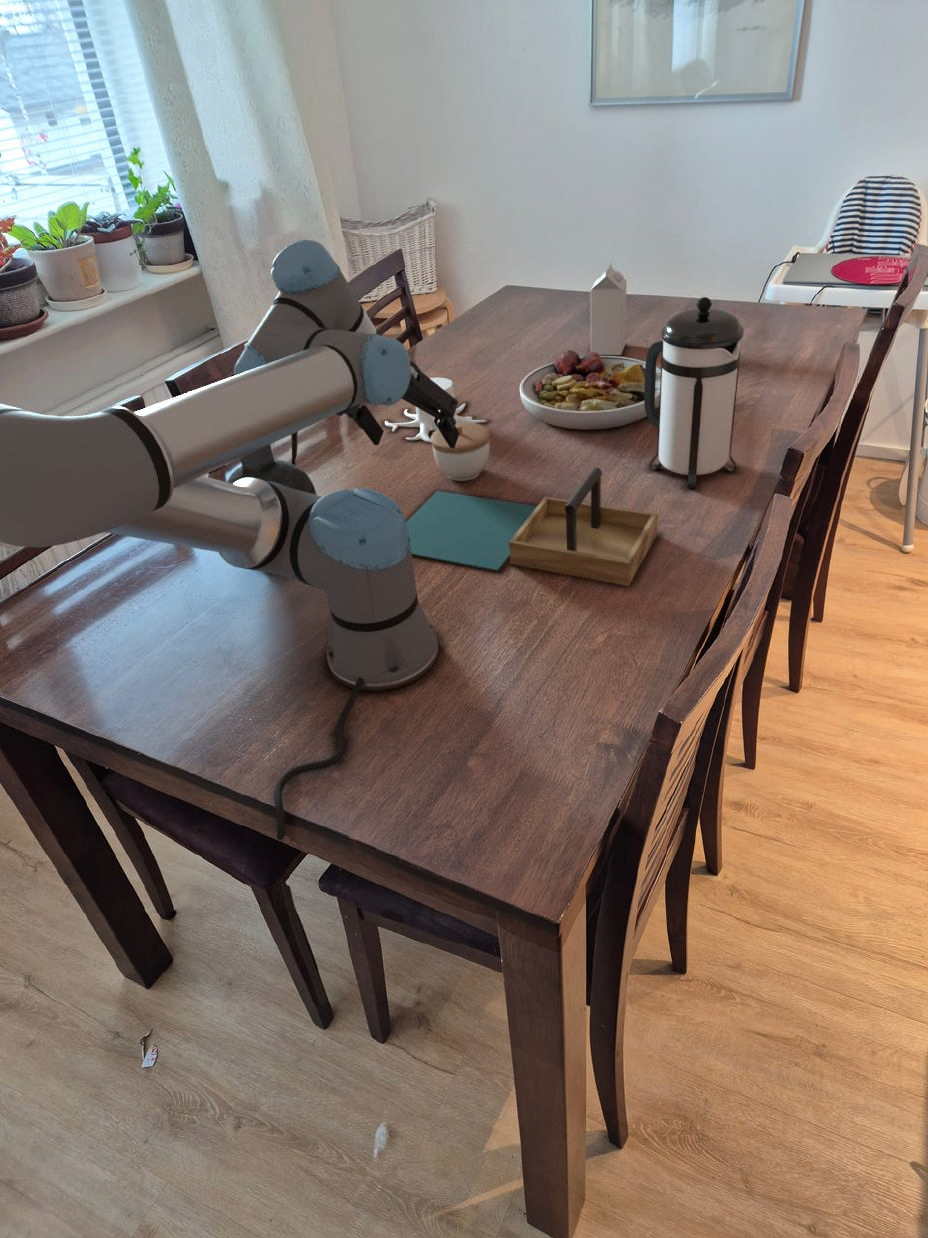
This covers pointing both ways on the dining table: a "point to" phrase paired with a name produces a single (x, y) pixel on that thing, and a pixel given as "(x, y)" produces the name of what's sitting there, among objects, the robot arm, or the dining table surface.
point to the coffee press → (695, 390)
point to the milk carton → (608, 313)
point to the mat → (466, 529)
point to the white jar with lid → (463, 451)
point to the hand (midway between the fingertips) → (416, 439)
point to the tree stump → (427, 420)
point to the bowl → (588, 391)
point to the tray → (585, 536)
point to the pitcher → (273, 469)
